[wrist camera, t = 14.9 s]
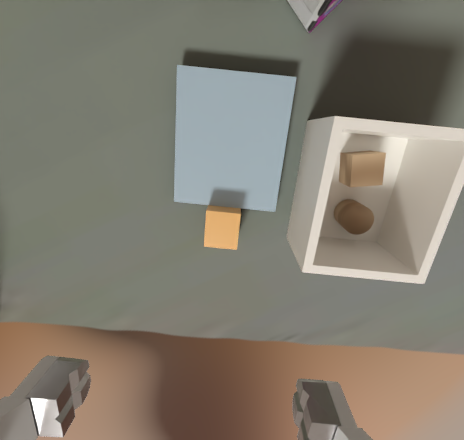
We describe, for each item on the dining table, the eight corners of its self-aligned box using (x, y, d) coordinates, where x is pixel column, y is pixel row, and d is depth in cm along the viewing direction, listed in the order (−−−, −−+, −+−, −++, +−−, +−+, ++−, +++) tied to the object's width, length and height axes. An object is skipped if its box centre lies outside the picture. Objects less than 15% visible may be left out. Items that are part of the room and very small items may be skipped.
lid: (181, 69, 25) (171, 58, 22) (292, 81, 25) (301, 72, 22) (177, 229, 31) (168, 242, 27) (268, 238, 31) (272, 253, 27)
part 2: (361, 197, 28) (373, 203, 25) (362, 223, 29) (374, 232, 26) (332, 201, 28) (341, 208, 25) (334, 226, 29) (343, 236, 26)
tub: (307, 120, 26) (334, 115, 19) (413, 131, 26) (484, 131, 19) (286, 237, 30) (302, 272, 23) (378, 246, 30) (424, 283, 23)
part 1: (340, 152, 26) (352, 155, 24) (370, 150, 26) (386, 152, 23) (338, 181, 27) (350, 187, 24) (367, 179, 27) (382, 185, 24)
